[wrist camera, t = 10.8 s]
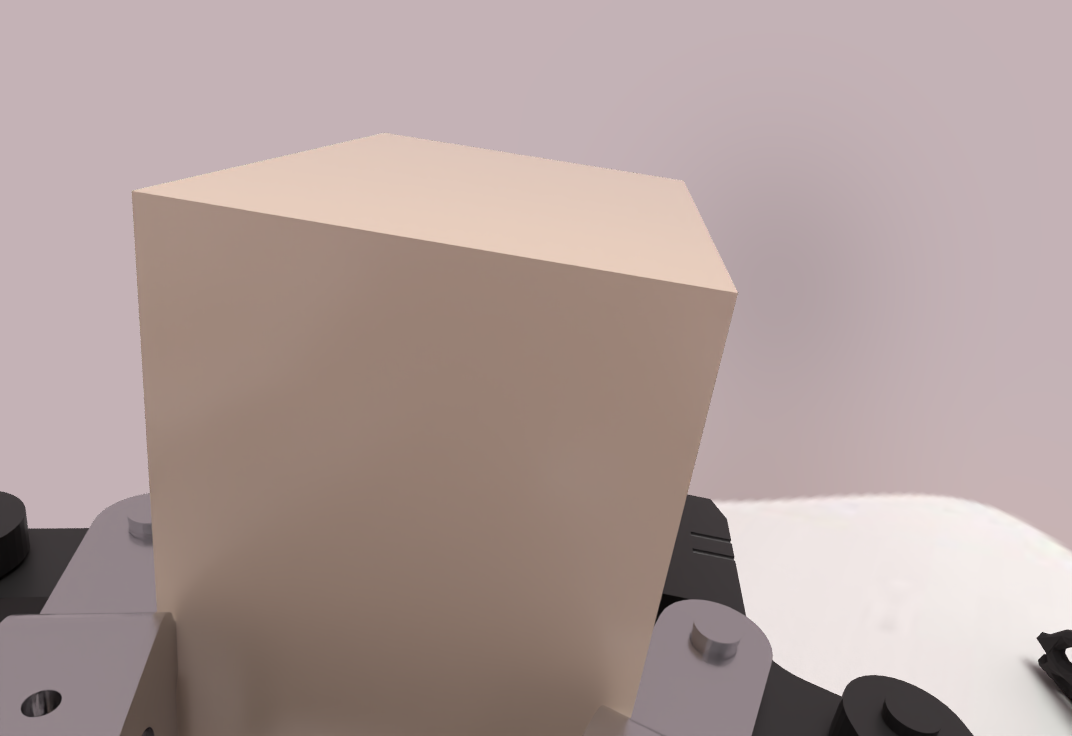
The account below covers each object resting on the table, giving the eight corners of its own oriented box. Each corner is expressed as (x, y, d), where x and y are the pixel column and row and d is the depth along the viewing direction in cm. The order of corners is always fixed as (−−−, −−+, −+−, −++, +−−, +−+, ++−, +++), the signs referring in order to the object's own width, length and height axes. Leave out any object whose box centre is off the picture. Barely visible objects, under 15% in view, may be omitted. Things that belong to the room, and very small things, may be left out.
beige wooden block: (536, 878, 16) (683, 180, 11) (486, 1290, 11) (737, 292, 5) (340, 835, 17) (384, 132, 11) (193, 1216, 11) (131, 191, 5)
